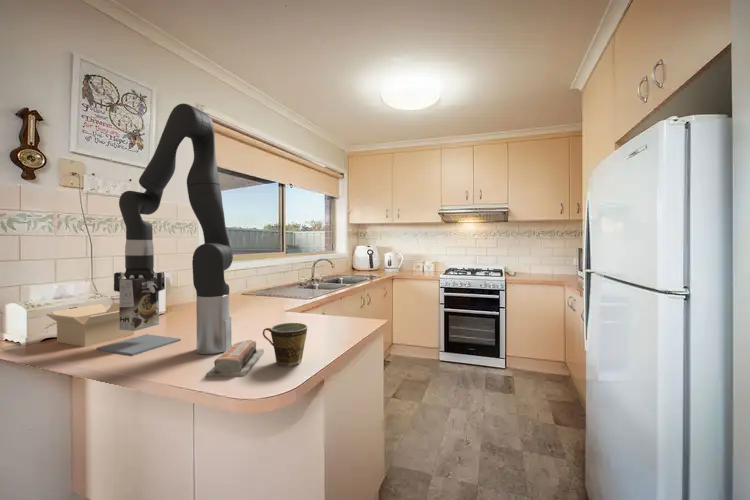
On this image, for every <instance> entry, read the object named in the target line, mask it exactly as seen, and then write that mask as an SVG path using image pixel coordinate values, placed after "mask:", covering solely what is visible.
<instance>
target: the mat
mask: <svg viewBox="0 0 750 500" xmlns="http://www.w3.org/2000/svg"><path fill="white" fill-rule="evenodd" d="M180 341H181V338H178V337H172V336H171V337H170V336H164V335H157V334H156V335H155V334H148V333H147V334H146V333H145V334H142V335H138V336H135V337H130V338H127V339H124V340H123V339H122V340H120V341H117V342H113V343H110V344H105V345H101V346H98V347H97V346H96V350H98V351H103V352H109V353H115V354H121V355H127V356H135V355H139V354H142V353H145V352H149V351H152V350H155V349H157V348H162V347H165V346H167V345H171V344H173V343H174V344H175V343H177V342H180Z"/></svg>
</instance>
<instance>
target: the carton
mask: <svg viewBox="0 0 750 500" xmlns="http://www.w3.org/2000/svg"><path fill="white" fill-rule="evenodd" d="M45 315H46V316H47V317H49V318H50V319H52V320H54V321H55V322H56V338H57V339H56V343H61V344H68V345H73V346H81V347H89V346H92V345H97V344H100V343H105V342H108V341H113V340H116V339H120V338H123V337H127V336H132V335H134V334H135V333H134V332H135V331H129V330H119V303H118V302H117V303H116V302H115V303H112V304H111V306H110V307H108V309H107V308H105V306H104V305H103V303H99V304H98V303H97V304H92V305H91V304H90V305H85V306H79V307H73V308H66V309H61V310H60V309H59V310H55V311H54V310H53V311H51V313H46V314H45Z"/></svg>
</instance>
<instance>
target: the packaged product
mask: <svg viewBox="0 0 750 500" xmlns="http://www.w3.org/2000/svg"><path fill="white" fill-rule="evenodd" d="M231 345H232V346H231V347H230V348H229V349H228V350H226V351H225V352H222V353H221V355H219V356H218V357H217V358H216V359H214V362H213V363H214V364H213V365H214V366H213V367H212V368H211V369H210V370H209V371H207V373H206V374H205V376H206V377H210V378H211V377H212V378H213V377H215V378H216V377H243V376H244V377H245V376H247V375H248V374H249V372H250V371H251V370H252V369H253V368H254V367H255V366H256V364H257V363H258V362H259V361H260V359H261V357H262V356H263V355H264V352H265V348H257V342H256V341H255V340H252V339H248V340H243V341H239V342H236V343H233V344H231ZM252 367H253V368H252Z"/></svg>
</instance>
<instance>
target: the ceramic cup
mask: <svg viewBox="0 0 750 500" xmlns="http://www.w3.org/2000/svg"><path fill="white" fill-rule="evenodd" d="M266 331H268V332H270V337H271V339H270V338H268V337H267V336H266V334H265V332H266ZM307 332H308V326H307V324H305V323H301V322H299V323H298V322H287V323H279V324H276V325H273V326H271V327H266V328H264V329H263V331H262V336H263V338H264V339H266V340H267V342H269V343H270V345H271V346H272V347H273V350H274V351H273V352H274V355H275V361H276V362H275V363H276V364H277V365H278V367H284V366H291V367H293V366H292V365H295V366H298V365H300V364H301V363H302V360H303V355H304V350H305V344H306V340H307V339H306V338H307ZM300 362H301V363H300ZM299 363H300V364H299ZM297 364H298V365H297Z"/></svg>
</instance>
